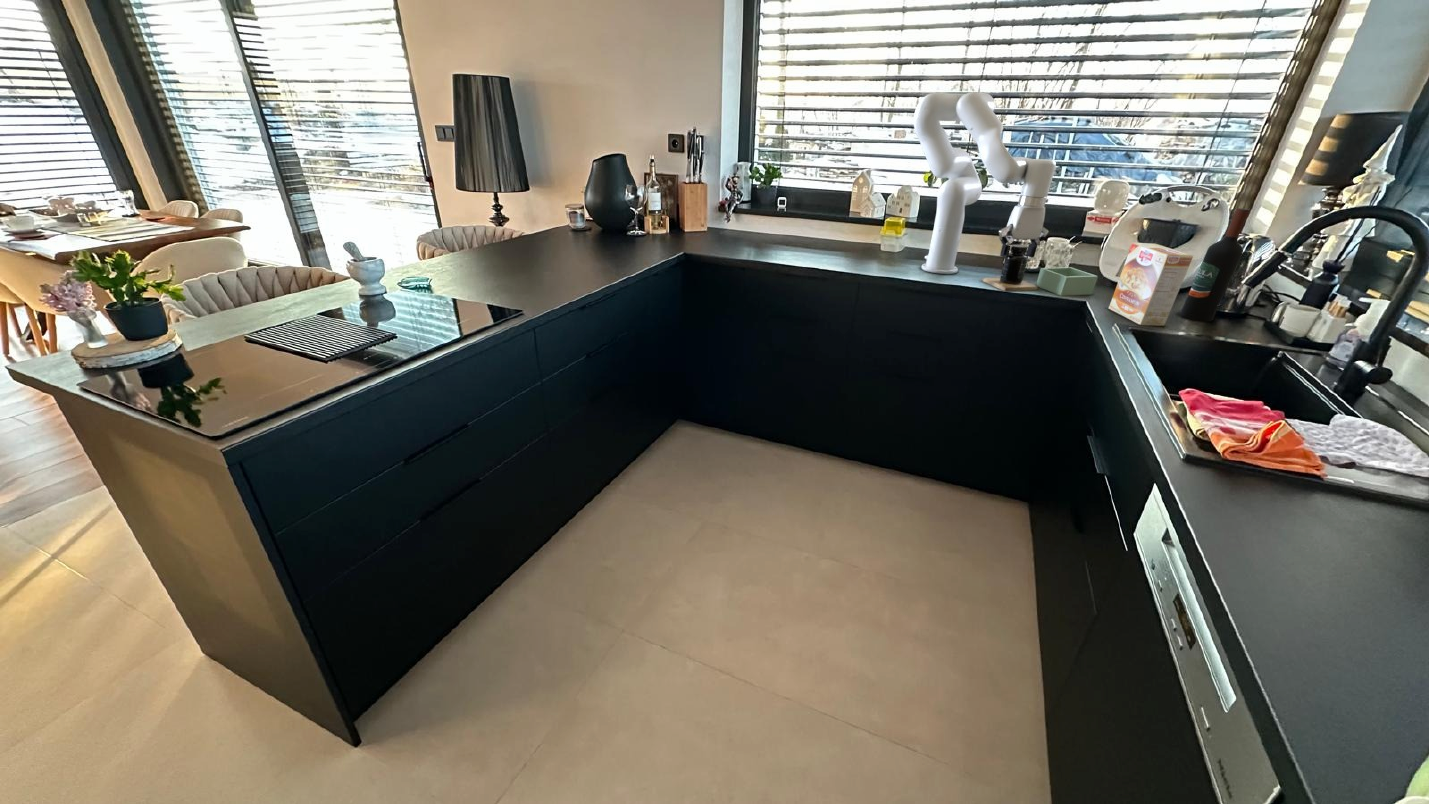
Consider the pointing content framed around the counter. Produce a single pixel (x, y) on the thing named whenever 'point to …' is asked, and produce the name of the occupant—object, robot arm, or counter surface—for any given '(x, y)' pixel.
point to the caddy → (1066, 281)
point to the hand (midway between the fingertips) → (1016, 256)
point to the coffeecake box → (1149, 283)
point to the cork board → (1009, 285)
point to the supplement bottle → (1015, 265)
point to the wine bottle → (1215, 273)
